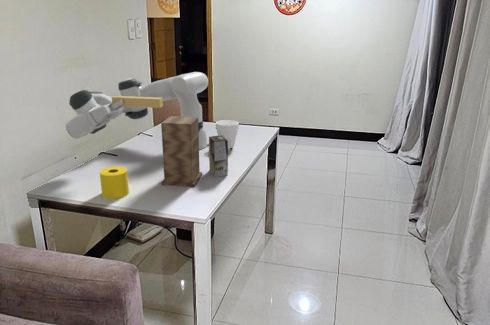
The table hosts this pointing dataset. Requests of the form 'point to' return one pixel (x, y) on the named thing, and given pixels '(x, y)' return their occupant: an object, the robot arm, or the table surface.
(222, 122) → the cup
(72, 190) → the table surface
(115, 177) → the yellow toilet paper roll
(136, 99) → the bar
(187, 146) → the stand
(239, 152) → the table surface
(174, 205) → the table surface
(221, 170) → the coffee box
